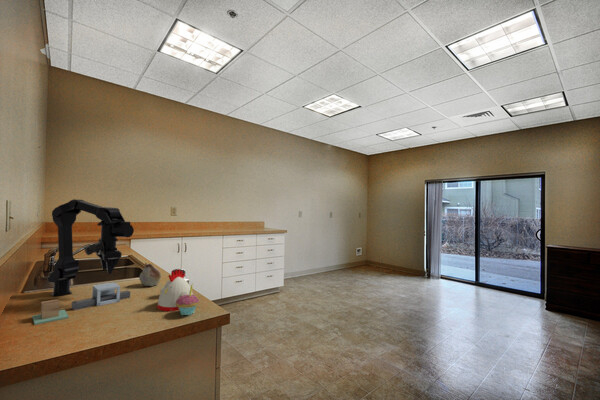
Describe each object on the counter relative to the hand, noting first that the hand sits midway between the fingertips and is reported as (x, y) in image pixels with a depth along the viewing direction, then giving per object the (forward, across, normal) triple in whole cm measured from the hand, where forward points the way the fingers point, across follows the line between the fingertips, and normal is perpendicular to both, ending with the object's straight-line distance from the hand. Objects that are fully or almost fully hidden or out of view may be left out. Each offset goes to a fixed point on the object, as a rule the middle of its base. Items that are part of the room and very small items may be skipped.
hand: (106, 271), depth 122 cm
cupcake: (+12, +38, +19) cm, 45 cm away
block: (+11, +10, -19) cm, 24 cm away
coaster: (+12, +10, -19) cm, 25 cm away
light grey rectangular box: (+12, +14, +25) cm, 32 cm away
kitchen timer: (+12, +26, +20) cm, 35 cm away
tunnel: (+12, +3, 0) cm, 12 cm away
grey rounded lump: (+12, -11, +22) cm, 27 cm away
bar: (+12, +4, -2) cm, 13 cm away
